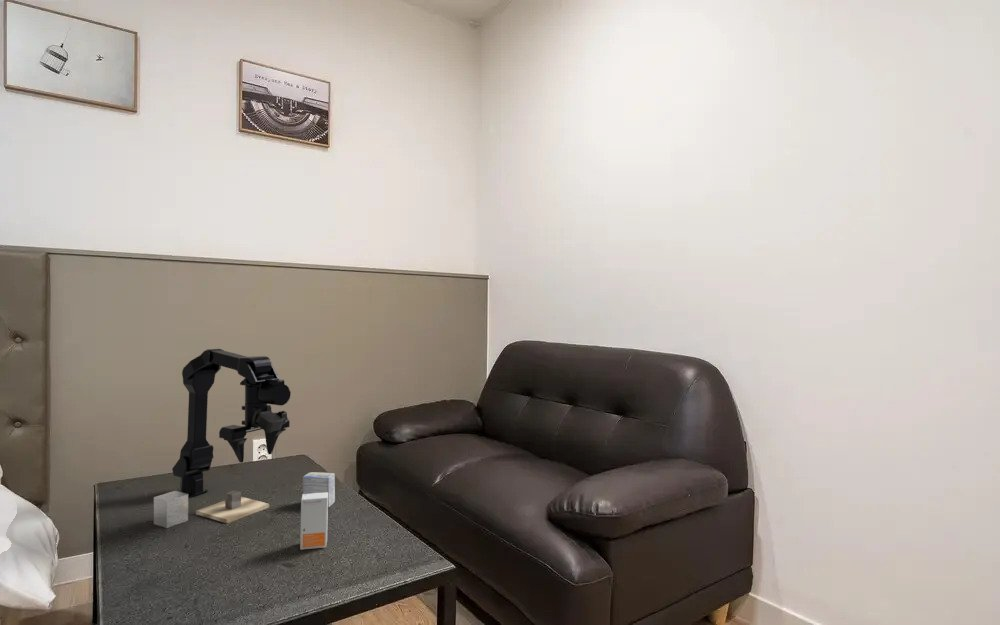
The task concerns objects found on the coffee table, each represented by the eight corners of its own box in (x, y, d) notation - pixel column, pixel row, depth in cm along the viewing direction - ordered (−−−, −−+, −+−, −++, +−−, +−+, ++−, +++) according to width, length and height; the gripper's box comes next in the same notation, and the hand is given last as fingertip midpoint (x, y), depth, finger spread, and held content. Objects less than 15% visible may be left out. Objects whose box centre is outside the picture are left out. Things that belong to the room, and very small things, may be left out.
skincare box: (299, 550, 126) (300, 499, 126) (301, 543, 130) (301, 493, 130) (327, 548, 128) (327, 497, 128) (327, 540, 132) (328, 491, 132)
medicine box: (335, 502, 158) (335, 472, 157) (328, 508, 153) (329, 477, 153) (309, 501, 158) (309, 471, 158) (302, 506, 154) (302, 476, 154)
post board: (195, 514, 147) (196, 495, 147) (238, 499, 159) (238, 482, 159) (227, 523, 141) (227, 504, 141) (268, 507, 153) (269, 489, 153)
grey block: (153, 523, 141) (153, 497, 140) (175, 516, 146) (175, 490, 145) (166, 528, 138) (166, 500, 138) (188, 520, 143) (188, 494, 143)
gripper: (246, 410, 138) (245, 471, 138) (303, 399, 155) (303, 454, 155) (218, 406, 143) (217, 465, 143) (276, 396, 160) (275, 449, 160)
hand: (255, 458), depth 150 cm, fingers open, 9 cm apart
